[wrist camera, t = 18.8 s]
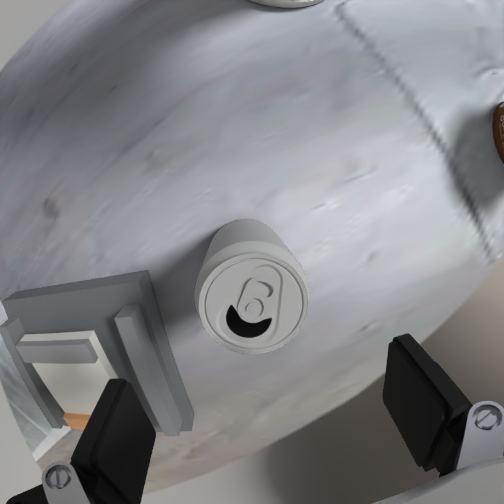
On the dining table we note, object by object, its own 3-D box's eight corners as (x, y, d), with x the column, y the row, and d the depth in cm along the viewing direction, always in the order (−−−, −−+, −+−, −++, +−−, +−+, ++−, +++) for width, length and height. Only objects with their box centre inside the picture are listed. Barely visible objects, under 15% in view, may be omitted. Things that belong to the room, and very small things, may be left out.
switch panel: (16, 291, 27) (-12, 310, 21) (148, 270, 27) (128, 292, 21) (72, 411, 31) (57, 437, 26) (194, 413, 31) (189, 447, 26)
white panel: (24, 334, 22) (15, 345, 20) (93, 330, 22) (85, 344, 20) (76, 416, 27) (71, 428, 25) (142, 419, 27) (139, 434, 25)
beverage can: (199, 274, 27) (176, 341, 15) (223, 206, 26) (214, 227, 14) (265, 297, 28) (286, 373, 16) (292, 232, 27) (336, 271, 15)
